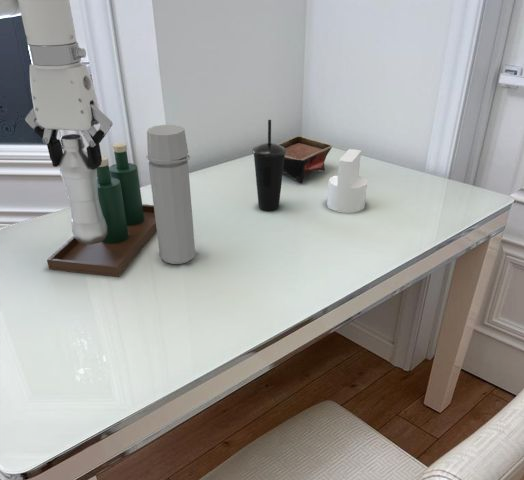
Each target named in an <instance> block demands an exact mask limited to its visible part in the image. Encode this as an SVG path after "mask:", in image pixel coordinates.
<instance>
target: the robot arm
mask: <svg viewBox="0 0 524 480" xmlns="http://www.w3.org/2000/svg"><path fill="white" fill-rule="evenodd" d="M70 1H71V0H0V19H5V18H6V19H7V18H13V17H18V16H21V19H22V24H23V29H24V33H25V38H26V42H27V46H28V47H27V48H28V51H29V56H30V60H31V64H29V85H30V93H31V99H32V105H33V107H32V108H31V110H29V112H28V113H27V115H26V117H24V120H25V122H26V124H27V125H28V126H30V128H32V130H33V131H34V132H35V134H37V135H38V136H39V137H40V138H41V139H42V142H43V143H44V144H45V145H46V147H47V151H48V156H49V159H50V161H51V163H52V167H54V168H57V167H59V163H60V160H61V158H62V156H63V154H64V149H62V143H61V138H60V139H58V133H59V131H72V132H73V131H74V132H81V134H82V137H84V138H83V139H85V142H87V144H88V146H87V147H86V152H87V155H88V160H89V165H90V169H91V170H95V169H96V168H98V167H99V166H100V165H101V162H102V157H101V156H102V152H101V146H100V143H101V142H102V141H103V139H104V138H105V137H106V135H107V134H108V132H109V131H110V130H111V127H113V121H112V120H111V119H110V118H109V117H108V116H107V115H105V113H103V112H102V111H101V110H100V107H99V103H98V98H97V94H96V90H95V87H94V83H93V80H92V77H91V74H90V72H89V69H88V67H87V64H86V63H84V62H81V61H82V59H85V58H86V57H87V56H86V55H87V51H86V49H85V48H84V47H83V48H82V47H79V42H77V36H76V30H75V25H74V19H73V12H72V7H71V2H70ZM99 124H100V126H99V128H98V129H97V128H96V127H95V126H97V125H99Z"/></svg>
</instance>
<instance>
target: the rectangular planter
mask: <svg viewBox="0 0 524 480" xmlns="http://www.w3.org/2000/svg"><path fill="white" fill-rule="evenodd" d="M277 144H278V145H280V146H282V147H284V148H286V154H285V157H284V166H283V174H286V175H288V176H289V177H290V178H292V179H294V180H295V181H297V182H298V183H299V184H301V185H302V184H303V183H304V181H305V179H306V178H307V177H308V175H310V173H312V172H313V171H322V172H326V170H325V169H326V168H325V161H326V159H327V156H328V154H329V153H330V152H331V150H332V148H333V146H332V144H330V143H327V142H325V141H321V140H318V139H314V138H311V137H306V136H303V135H296V136H293V137H291V138H289V139H287V140H284V141H282V142H279V143H277Z"/></svg>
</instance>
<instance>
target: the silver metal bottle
mask: <svg viewBox="0 0 524 480" xmlns="http://www.w3.org/2000/svg"><path fill="white" fill-rule="evenodd" d="M60 142H61V146H62V150H63V156H62V158H61V160H60V163H59V166H58V171H59V174H60V177H61V179H62V182H63V184H64V187H65V190H66V194H67V197H68V201H69V202H68V203H69V207H70V214H71V215H70V216H71V232H72V236H74V237H75V239H76V240H77V241H78V242H80V243H82V244H96V243H99V242H102V241H103V240H104V239H105V238H106V236H107V224H106V221H105V218H104V216H103V213H102V209H101V206H100V202H99V196H98V188H97V168H96V169H95V170H91V169H90V165H89V160H88V155H87V150H85V147H86V145H85V143H84V138H83V134H82V135H81V134H79V133H70V134H69V133H68V134H64V135H61V136H60Z"/></svg>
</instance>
